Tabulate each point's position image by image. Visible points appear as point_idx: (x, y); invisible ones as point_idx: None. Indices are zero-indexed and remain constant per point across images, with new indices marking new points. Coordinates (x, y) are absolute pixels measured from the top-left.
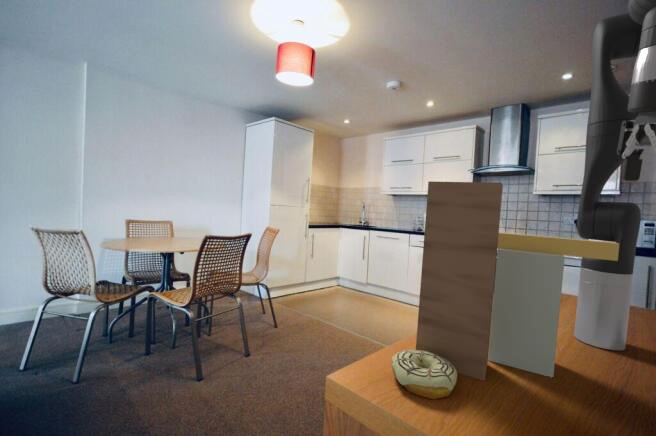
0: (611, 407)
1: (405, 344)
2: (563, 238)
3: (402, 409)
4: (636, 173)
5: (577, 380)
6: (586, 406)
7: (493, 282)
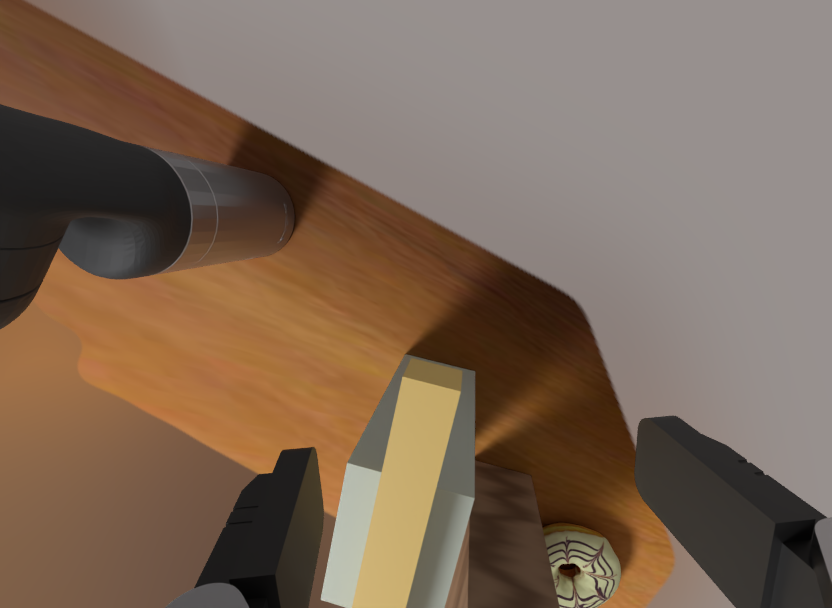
0: (537, 323)
1: None
2: (411, 516)
3: (645, 584)
4: (309, 495)
5: (466, 335)
6: (548, 357)
7: (550, 605)
